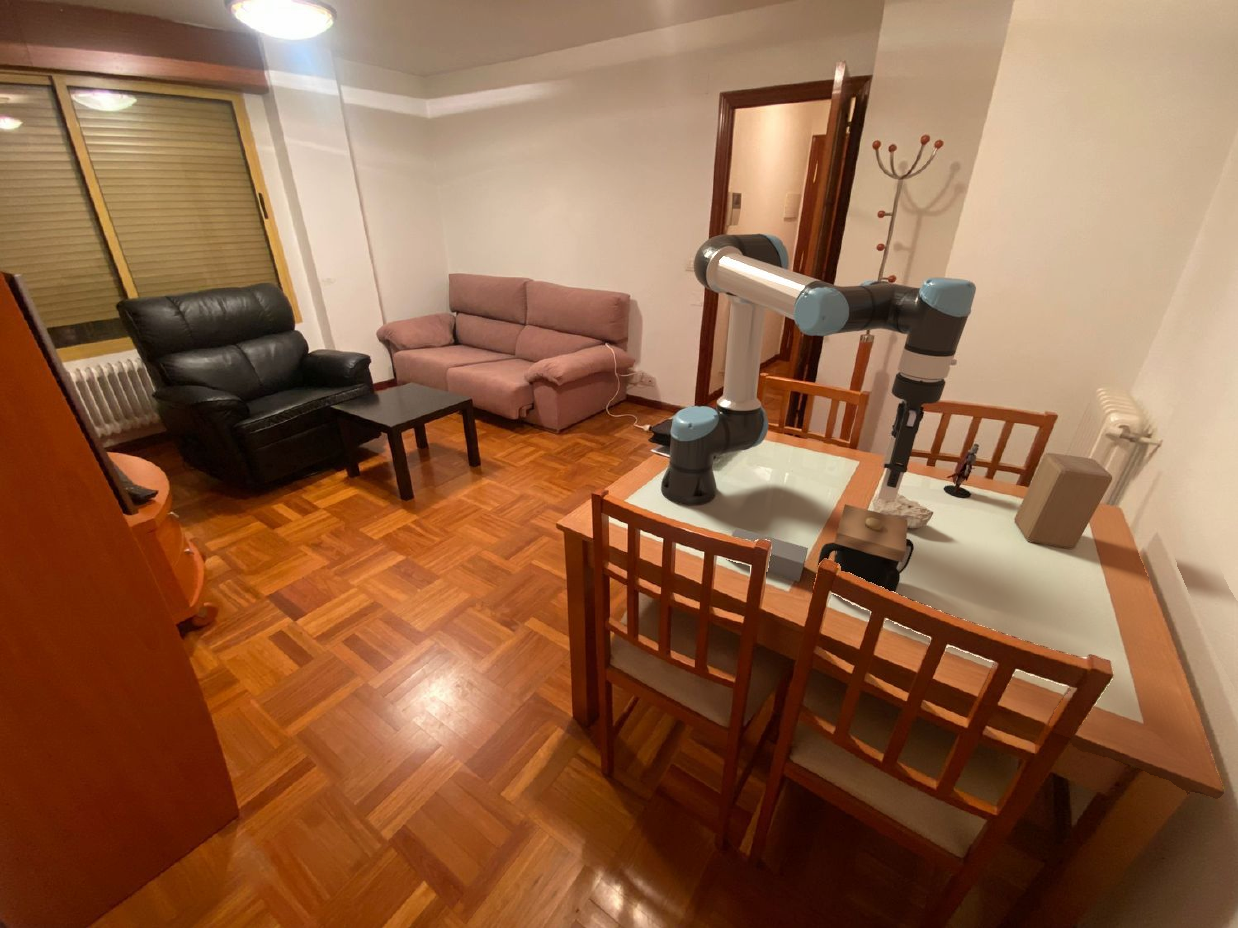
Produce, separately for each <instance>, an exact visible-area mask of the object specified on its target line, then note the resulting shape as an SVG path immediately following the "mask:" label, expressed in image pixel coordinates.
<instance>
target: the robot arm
mask: <svg viewBox="0 0 1238 928" xmlns="http://www.w3.org/2000/svg"><path fill="white" fill-rule="evenodd" d="M786 247H787V246H786V245H785V244H784V243H783V241H782V240H781V238H779V237H778V236H776V235H774V234H766V233H764V234H763V233H751V234H749V233H747V234H719V235H716V236H713V237H710V238H709V239H707V240H706V241H705V242H703V244H701V245H700V247H699V248H698V250H697V251H696V254H695V256H694V260H693V272H694V276H695V278H696V280H697V281H698V282H699V284H701V285H702V286H703V287H704V288H706V289H708V290H710V291H713V292H715V293H717V294H725V296H726V298H727V299H728V301H730V308H729V319H728V320H729V321H728V334H727V346H726V357H725V369H724V382H723V393H722V395H721V396H720V397H719V398H718V399H717V400H716V406H715V407H716V410H715V408H712V407H710V406H705V405H704V406H703V405H702V406H698V405H694V406H689V407H685V408H683V409H680V410H678V411H677V412H676V413H675V414H674V416H673V418H672V423H671V428H670V446H669V447H670V448H669V462H668V463H669V464H668V466H667V469H666V470H665V473H664V475H663V477H662V479H661V484H660V485H661V486H660V490H661V493H662V495H663V496H664V497H665V498H666V499H668V500H669V501H672V502H673V503H676V504H679V505H683V506H700V505H704V504H705V505H706V504H707V503H710V502H711V501H713V500H714V499H715V497H716V495H717V483H716V482H717V481H716V479H715V474H714V470H713V465H714V458H715V456H719V455H723V454H730V453H734V452H738V451H746V450H747V451H748V450H750V449H751V448H755V447H757V446H759V445H760V444H762V443H763V441H764V440H765V439H766V437H767V435H768V431H769V418H768V417H767V412H766V411H765V409H764V408H763V407H762V402H761V401H760V399H758V397H757V393H758V384H759V377H760V376H759V375H760V367H761V365H760V364H761V359H762V358H761V357H762V347H763V339H764V331H765V324H766V323H765V322H766V314H767V312H766V311H767V309H768V310H770V311H772V312H774V313H776V314H780V315H782V316H784V317H786V318H788V319H791V320H794V322H795V325H796V327H798V329H799V331H800V332H801V333H803V335H807V336H811V337H812V336H819V337H826V336H831V335H837V334H845V333H846V334H847V333H852V332H859V331H860V332H863V331H868V330H869V331H871V330H879V329H880V330H886V331H892V332H896V333H899V334H902V335H907V336H906V340H905V342H904V346H903V349H902V352H901V356H900V359H899V362H898V366H897V370H898V372H897V373H896V374H895V377H894V381H893V384H892V387H891V394H892V396H895V398H897V399H899V400H901V402H898V404H897V409H896V415H895V419H894V423H893V425H892V427H891V428H892V431H891V433H890V434H891V435H890V438H889V441H888V443H887V446H886V449H885V454H884V457H883V461H882V463H881V468H884V469H885V473H884V475H883V478H882V483H881V486H880V489H879V492H878V494H879V495H878V499H881V500H885V501H889V502H893V503H894V502H895V499H896V496H897V493H898V492H899V490H900V486H901V483H902V481H903V478H904V474H906V473H907V471H908V465H909V462H910V457H911V454H912V452H913V446H914V444H915V440H916V436H917V434H918V432H919V429H920V424H921V421H922V420H923V418H924V415H925V411H924V409H925V407H924V406H922V405H925V404H927V405H928V404H929V405H930V404H936V403H938V402H939V401H940V400H941V398H942V395H943V392H944V389H945V386H946V382H947V381H946V378H948V376H949V373H950V370H951V366H956V365H957V361H958V360H957V359H955V354H956V353H957V349H958V346H959V343H960V340H961V338H962V336H963V331H964V329H965V326H966V323H967V321H968V317H970V315H971V313H972V306H973V302H974V299H975V294H976V291H977V288H976V287H977V286H976V284H975V283H974V282H973V281H971V280H967V279H963V278H951V277H938V276H937V277H929V278H926V279H924V281H923V282H922V285H921V287H913V286H908V285H903V284H897V283H891V282H890V281H885V280H881V281H878V280H865V281H864V282H862V283H861V284H860V285H852V286H851V285H849V286H839V285H835V284H832V283H829V282H826V281H823V280H820V279H817V278H815V277H811V276H807V275H804V274H802V273H798V272H795V271H793V270H789V264H790V262H789V260H790V258H789V254H788V250H787V248H786ZM898 494H899V493H898Z"/></svg>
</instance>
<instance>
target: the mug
mask: <svg viewBox="0 0 1238 928" xmlns="http://www.w3.org/2000/svg"><path fill="white" fill-rule="evenodd" d="M914 548H915V545H914V542H912V540H910V539H909V538H907V541H906V553H905V556H904V559H903V561H902V562H899V561H895V560H892V559H888V558H885V557H881V556H878V555H874V554H871V553H867V552H864V551H860V550H856V549H853V548H849V547H846V546H842V545H839V544H835V541H833V542H828V543H825V544H824V545H822V548H821V550H820V553H819V557H818V560H817V566H818V565H819V563H820V562H821V561H822V560H823V559H824V558H827V559H829V558H830V556H831V554H832V552H834V558H833V563H834V562H836V563H839V564H840V566H841V571H845V572H850V573H852V574H854V575H856V576H858V577H861V578H863V579H865V580H866V581H868V582H872V583H874V584H876V585H878V586H882V587H884V588H885V589H888V590H889V591H894V592H895V593H896V591H897V589H898V586H899V582H900V579H901V573H902V572H903V571H904V570H905V569H906V568H907V566H908V564H909V562H910V561H911V558H912V555H913V552H914ZM884 588H883V589H884Z"/></svg>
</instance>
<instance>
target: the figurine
mask: <svg viewBox="0 0 1238 928" xmlns="http://www.w3.org/2000/svg"><path fill="white" fill-rule="evenodd" d="M979 447H980V445H979V444H978V443H974V444H973V446H971V448H970V449H968V450H966V452H965V453H964V457H963V460H962V462H961V463H960V464H959V466H958V467H957V469H956V471H955V472H953V474H951V475H948V476H946V478H947V479H950V478H952V483H953V484H954V485H950V484H949V485H945V486H944V487H943V491H944V493H946V494H948V495H949V496H952V497H954V498H955V497H956V498H957V499H958V498H959V499H969V498H970V497H971V496H972V493H971V492H970V491H969V490H968V489H966V488H965V487H961V485H962V483H964V482H965V481H968V480H969V478H970V477H969V476H970V475H971V473H973V472H972V470H975V467H973V466H974V464H975V463H976V459H977V455H976V454H978V451H979Z"/></svg>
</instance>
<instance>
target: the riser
mask: <svg viewBox="0 0 1238 928" xmlns="http://www.w3.org/2000/svg"><path fill="white" fill-rule="evenodd" d="M731 536H733V537H738V538H741V539H748V540H751V541H753V542H754V541H755V540H757V539H767V540H770V541H771V543H772V549H771V556H770V561H769V568H768V572H767V573H768V574H771V575H774V576H778V577H781V578H785V579H788V580H790V581H794V582H797V583H800V580H801V577H802V573H803V570H804V568H805V563H806V560H807V555H808V550H809V548H808V547H807V546H806V547H805V546H802V545H798V544H795V543H792V542H788V541H786V540H785V541H784V540H783V539H782V540H781V539H778V538H774V537H770V536H767V535H765V534H764V535H763V534H760V533H756V532H753V531H750V530H747V529H743V528H739V527H735V529H734V530H733V532H732V533H731Z"/></svg>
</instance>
